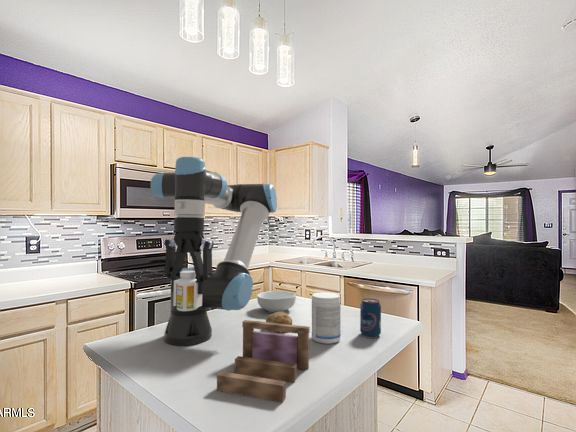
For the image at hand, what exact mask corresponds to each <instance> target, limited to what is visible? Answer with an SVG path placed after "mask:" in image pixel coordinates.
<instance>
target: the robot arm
mask: <svg viewBox="0 0 576 432" xmlns="http://www.w3.org/2000/svg"><path fill="white" fill-rule="evenodd" d="M150 190H151V193H152V194H153V196H154V197H156V198H161V199H169V198H170V199H174V215H175V216H176V217H175V218H174V219H173V230H174V236H173V238H171V239H165V240H164V247H165V261H164V262H165V264H164V265H165V266H164V277H165V278H169V279H170V284H169V286H170V315H169V319H168V322H167V325H166V327H165V330H164V337H163V338H164V339H163V340H164V341H165V343H166V344H168V345H169V344H170V345H173V346H189V345H195V344H202V343H203V342H206V341H208V340H209V339H211V338H212V336H213V334H212V333H213V329H212V328H213V327H212V325H211V322H210V320H209V315H208V309H215V310H225V311H241V310H242V309H244V308H245V307H246V306H247V305H248V304H249V302H250V300H251V298H252V295H253V288H254V281H253V280H254V279H253V277H252V276H251V272H250V270H249V265H250V263H251V259H252V256H253V253H254V251H255V247H256V245H257V241H258V237H259V234H260V232H261V228H262V224H263V222H265V221H266V220H267V219H268V218H269V216H270V213H271V214H273V213H275V212H276V211H277V208H278V198H277V193H276V189H275V186H274V185H273V184H271V183H264V182H263V183H248V184H247V183H242V184H241V183H240V184H239V183H238V184H228V181H227V179H226V178H225V176H223V175H222V174H220V173H218V172H215V171H210V170H207V169H206V161H205V160H204V159H203V158H202V157H201V158H200V157H195V156H180V157H177V159H176V160H175V169H174V172H162V173H161V172H160V173H155V174H154V175H153V176H152V177H151V179H150ZM205 204H208V205H212V206H214V207H215V208H217V209H221V210H225V211H230V212H235V213H240V214H241V215H240V217H239V220H238V222H237V225H236V228H235V231H234V233H233V236H232V239H231V241H230V244H229V247H228V249H227V251H226V255H225V258H224V260H223V261H220V262H219V263H218V264H217V265H216V268H215V270H214V271H213V247H214V240H207V239H206V238H205V237H204V230H205V219H204V218H203V216H204V215H205ZM176 246H177V247H176ZM201 247H202V249H201ZM188 253H189V255H190V257H191V260H192V264H193V265H192V266H191V267H185V268H183V267H184V264H185V259H186V256H187V254H188ZM181 271H195V274H196V277H195V279H197V280H196V281H195V282H194V308H197V309H196V310H192V311H179V310H177V282H178V281H179V280H180V279H181V277H180V272H181Z"/></svg>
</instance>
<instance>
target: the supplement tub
mask: <svg viewBox="0 0 576 432" xmlns="http://www.w3.org/2000/svg"><path fill="white" fill-rule="evenodd" d="M341 322H342V321H341V295H339V293H335V292H334V293H333V292H315V293H312V295H311V337H312V338H311V339H312V340H313V341H314V342H317V343H319V344H324V345H325V344H326V345H327V344H335V343H338V342H339V341H340V340H341V335H342V334H341V332H342V331H341V325H342V324H341Z"/></svg>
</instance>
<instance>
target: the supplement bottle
mask: <svg viewBox="0 0 576 432" xmlns="http://www.w3.org/2000/svg"><path fill="white" fill-rule="evenodd" d="M180 277H181V279H180V280H179V281H178V282H177V310H179V311H192V310H196V309H197V308H194V282H195V281H196V280H197V279H195V277H196V274H195V271H181V272H180Z"/></svg>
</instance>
